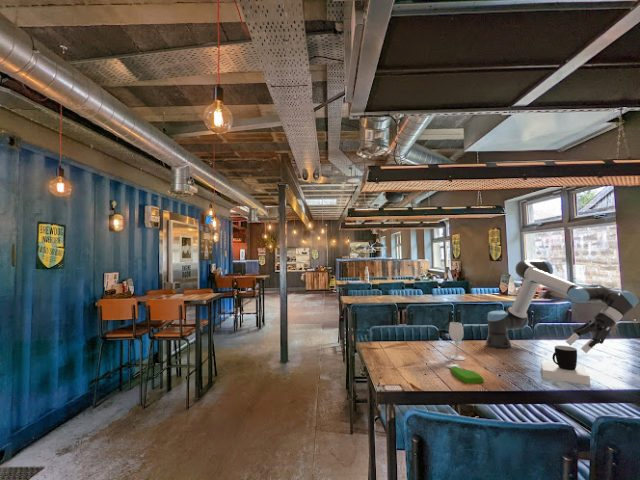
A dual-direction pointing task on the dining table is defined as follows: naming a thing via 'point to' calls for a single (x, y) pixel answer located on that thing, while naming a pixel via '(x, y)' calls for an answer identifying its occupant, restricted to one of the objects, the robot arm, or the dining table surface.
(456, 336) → the wineglass
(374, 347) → the dining table surface
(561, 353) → the mug
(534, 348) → the dining table surface
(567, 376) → the flat plate
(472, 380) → the spray bottle
